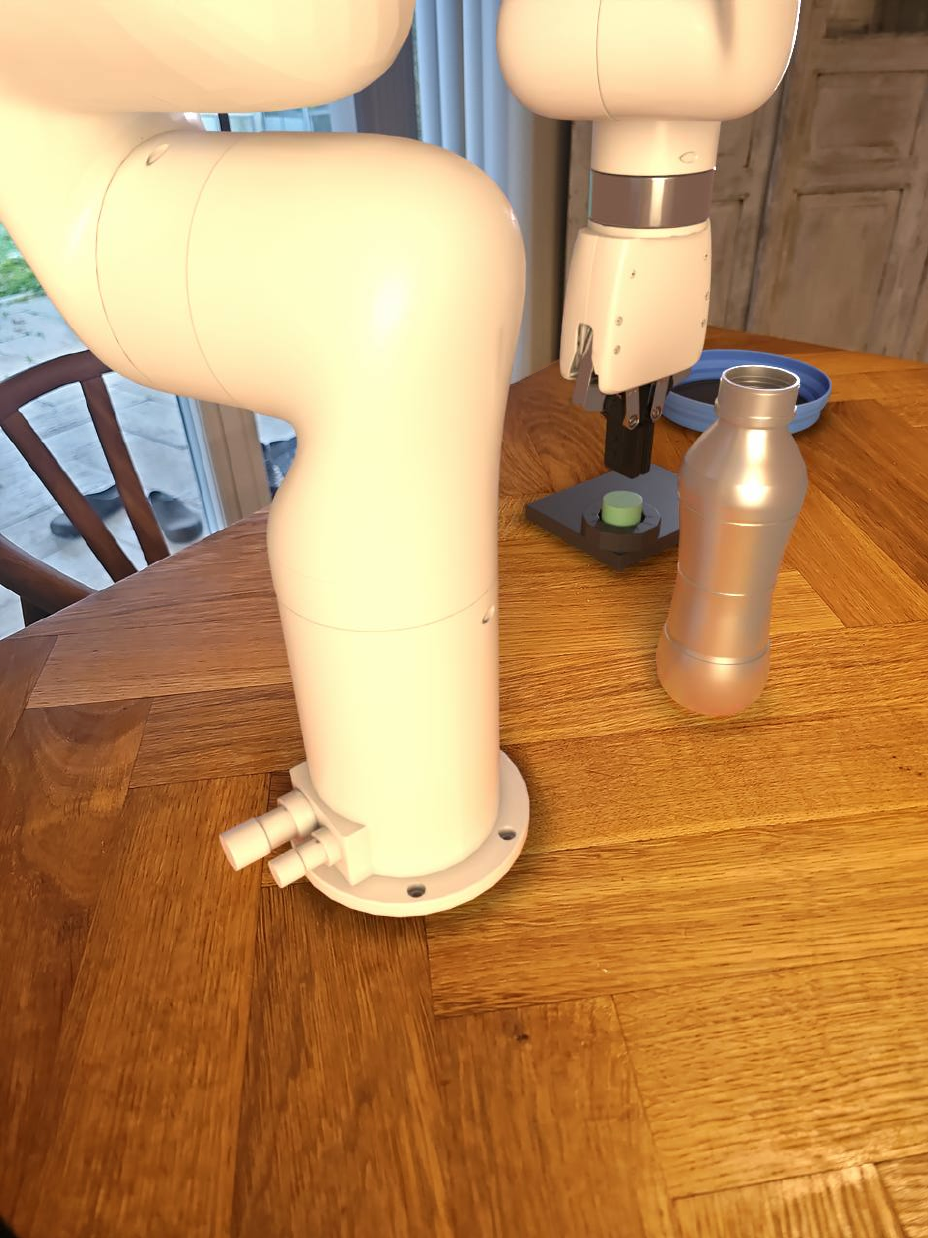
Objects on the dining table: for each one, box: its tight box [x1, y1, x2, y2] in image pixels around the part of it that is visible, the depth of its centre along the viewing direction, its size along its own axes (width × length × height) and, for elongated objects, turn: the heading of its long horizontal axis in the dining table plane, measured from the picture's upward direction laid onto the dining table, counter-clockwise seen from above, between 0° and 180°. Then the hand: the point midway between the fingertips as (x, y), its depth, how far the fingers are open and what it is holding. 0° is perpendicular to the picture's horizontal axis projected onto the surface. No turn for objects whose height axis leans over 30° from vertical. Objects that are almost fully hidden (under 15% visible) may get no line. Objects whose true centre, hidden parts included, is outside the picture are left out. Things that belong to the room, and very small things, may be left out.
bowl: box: [661, 348, 833, 435], centre depth 89 cm, size 18×18×4 cm
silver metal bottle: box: [655, 365, 809, 717], centre depth 47 cm, size 6×7×20 cm
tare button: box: [602, 491, 643, 527], centre depth 65 cm, size 3×3×2 cm
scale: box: [525, 462, 680, 572], centre depth 70 cm, size 14×11×3 cm
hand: (626, 469), depth 63 cm, fingers closed
